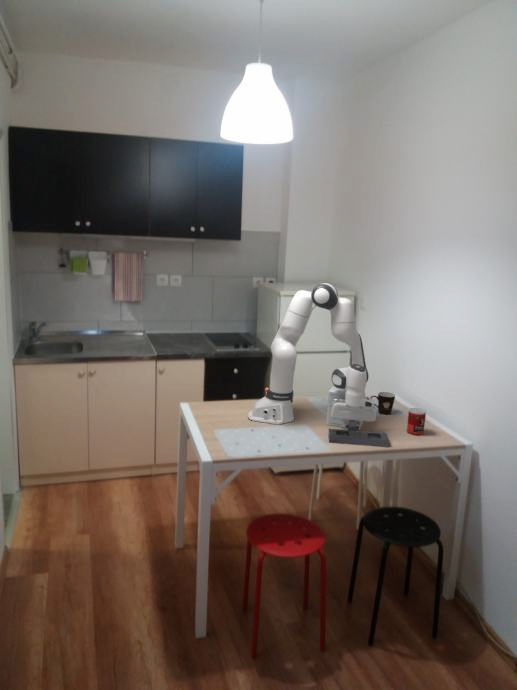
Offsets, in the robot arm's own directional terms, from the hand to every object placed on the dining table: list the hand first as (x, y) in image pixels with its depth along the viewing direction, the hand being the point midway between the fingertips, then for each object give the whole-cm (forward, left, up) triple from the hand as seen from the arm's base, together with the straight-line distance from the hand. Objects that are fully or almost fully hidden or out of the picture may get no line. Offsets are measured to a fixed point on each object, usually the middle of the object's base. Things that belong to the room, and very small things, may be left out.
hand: (352, 428), depth 265 cm
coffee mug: (+18, +33, -2) cm, 38 cm away
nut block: (0, 0, -2) cm, 2 cm away
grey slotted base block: (+2, -9, -2) cm, 9 cm away
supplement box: (-6, +12, -2) cm, 14 cm away
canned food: (+30, +7, -2) cm, 31 cm away
